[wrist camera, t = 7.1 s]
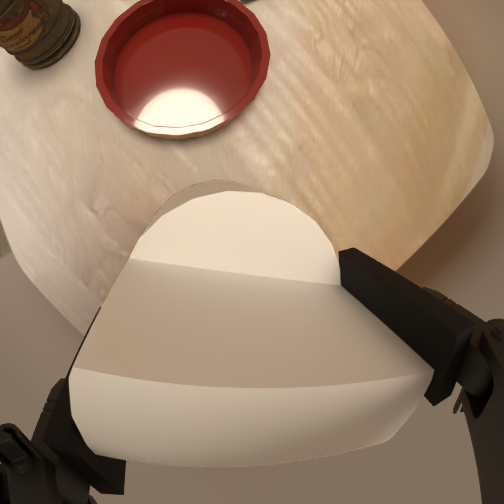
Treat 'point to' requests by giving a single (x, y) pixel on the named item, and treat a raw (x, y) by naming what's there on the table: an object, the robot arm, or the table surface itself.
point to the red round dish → (181, 65)
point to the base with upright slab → (238, 343)
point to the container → (37, 30)
